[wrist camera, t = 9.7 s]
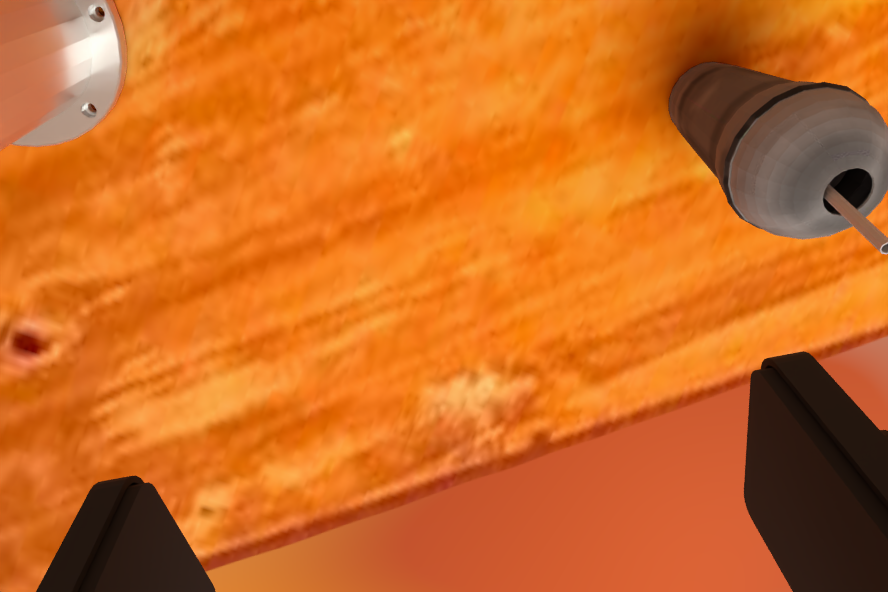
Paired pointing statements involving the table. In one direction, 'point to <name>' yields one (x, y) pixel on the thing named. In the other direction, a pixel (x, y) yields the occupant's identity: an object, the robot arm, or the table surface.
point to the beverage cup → (786, 149)
